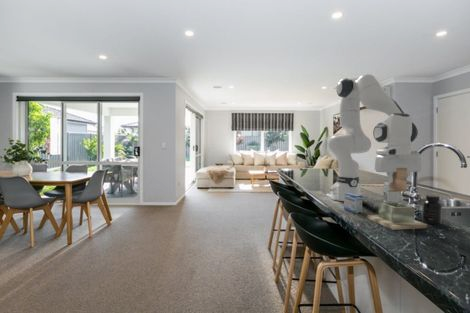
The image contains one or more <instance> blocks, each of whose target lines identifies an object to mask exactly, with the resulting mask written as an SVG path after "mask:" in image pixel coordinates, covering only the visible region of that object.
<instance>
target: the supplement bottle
mask: <svg viewBox="0 0 470 313" xmlns="http://www.w3.org/2000/svg"><path fill="white" fill-rule="evenodd" d="M442 215H443V204H442V203H441V202H440V196H439V195H437V194H426V195H425V200H424V201H423V202H422V223H425V224H427V225H437V224H438V225H441V224H442V219H443V218H442V217H443V216H442Z"/></svg>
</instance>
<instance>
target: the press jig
mask: <svg viewBox="0 0 470 313" xmlns="http://www.w3.org/2000/svg"><path fill="white" fill-rule="evenodd" d="M415 212H416V207H415V206H412V205H409V204H405V203H402V202H400V201H399V202H385V203H383V202H378V213H377V214H367V216H366V217H367V219H368V220H369V221H370V220H371V221H372V222H375V223H377V224H378V225H381V226H383V227H386V228H388V229H390V230H391V231H392V230H393V231H395V230H396V231H397V230H412V229H415V230H417V229H428V223H425V222H423V221H418V220H416V219H415V215H416V214H415Z"/></svg>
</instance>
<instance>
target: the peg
mask: <svg viewBox="0 0 470 313" xmlns="http://www.w3.org/2000/svg"><path fill="white" fill-rule="evenodd" d="M392 177H393V179H395V182H394V183H390V185H389V190H392V191H396V192H399V193H400V192H407V182H406V178H407V168H397V172H393V175H392ZM407 179H408V178H407Z"/></svg>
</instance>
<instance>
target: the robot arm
mask: <svg viewBox="0 0 470 313" xmlns="http://www.w3.org/2000/svg"><path fill="white" fill-rule="evenodd" d="M336 93H337V96H338V97H341V100H340V104H339V126H340V127H341V128H342V129H343V130H345V131H346V133H347V134H338V135H335V136H330V138H329V139H328V143H327V147H328V149H329V151H330V152H332V154H333V155H334V156H335V158H336V160H337V164H338V176H336V182H335V183H334V184H332V185H331V186H330V188H329V191H330V192H329V193H326V196H327V197H328V198H330V199H331V200H332V201H339V202H344V196H345V193H353V194H357V195H361V194H362V193H361V186H360V185H359V183H360V177H359V171H360V170H359V168H360V166H359V163H358V161H356V160H354V159H353V158H352V154H363V153H367V152H369V151H370V149H371V147H372V141H371V139H370V138H369V136H367V135H366V133H364V131H363V129H362V125H361V106H360V105H361V104H362V105H363V107H364V108H366V109H369V110H372V111H377V112H381V113H384V114H386V115H387V116H388V117H387V119H385V120H383V121H382V122H378V123H377V124H376V125H375V127H374V128H373V131H372V132H373V133H372V134H373V136H372V137H373V139H375V141H376V142H378V143H382V144H387V146H383V147H382V148H379V149H377V150H376V156H375V161H374V170H375V171H376V172H377V173H386V176H387V178H388V182H390V183H394V182H395V179H393V177H392V175H393V172H397V168H407V178H406V183H407V182H408V181H407V180H408V178H409V177H410V173H420V172H421V171H422V158H421V153H420V152H419V151H417V150H412V142H414V141H415V140H416V139H417V137H418V135H419V130H418V127H417V126H416V124H414V122H413V121H412V117H411V115H410V114H409V113H404V111H403V109H402V108H401V107H400V105H399V104H398V103H397V101H396V100H395V99H393V98H392V97H390V96H389V95H388V94H387V93H386V92H385V90H384V89H383V88H382V86H381V84H380V82H379V81H378V79H377V78H376V77H375V76H374V75H373V74H368V73H366V74H363V75H360V76H359V77H353V78H350V77H349V78H346V77H345V78H342V79H340V80H339V81H338V82H337V85H336ZM361 196H362V195H361Z"/></svg>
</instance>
